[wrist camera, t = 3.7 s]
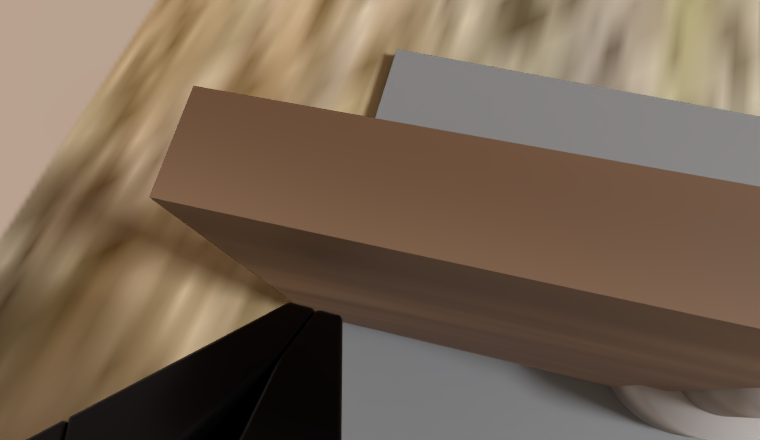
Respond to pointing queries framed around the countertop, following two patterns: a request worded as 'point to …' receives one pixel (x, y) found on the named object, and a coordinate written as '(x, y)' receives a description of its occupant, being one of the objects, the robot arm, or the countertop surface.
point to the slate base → (545, 130)
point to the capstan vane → (489, 249)
